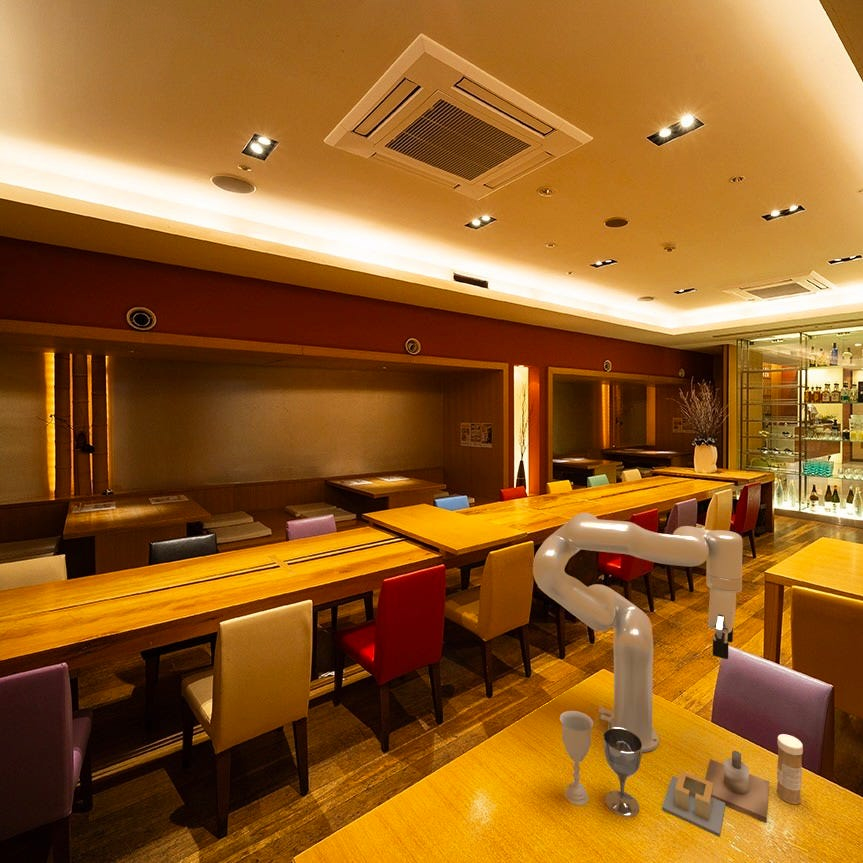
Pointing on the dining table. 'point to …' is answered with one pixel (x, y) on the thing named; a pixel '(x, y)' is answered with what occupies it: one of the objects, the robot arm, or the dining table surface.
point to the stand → (739, 787)
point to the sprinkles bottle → (789, 768)
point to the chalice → (576, 750)
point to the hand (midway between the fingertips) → (722, 648)
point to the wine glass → (622, 767)
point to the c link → (694, 794)
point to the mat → (715, 816)
